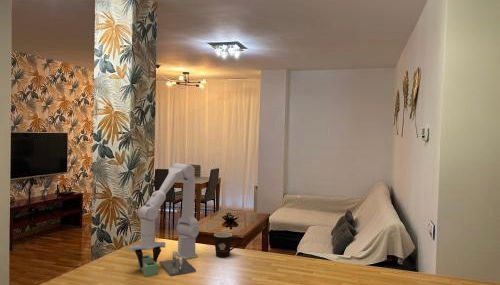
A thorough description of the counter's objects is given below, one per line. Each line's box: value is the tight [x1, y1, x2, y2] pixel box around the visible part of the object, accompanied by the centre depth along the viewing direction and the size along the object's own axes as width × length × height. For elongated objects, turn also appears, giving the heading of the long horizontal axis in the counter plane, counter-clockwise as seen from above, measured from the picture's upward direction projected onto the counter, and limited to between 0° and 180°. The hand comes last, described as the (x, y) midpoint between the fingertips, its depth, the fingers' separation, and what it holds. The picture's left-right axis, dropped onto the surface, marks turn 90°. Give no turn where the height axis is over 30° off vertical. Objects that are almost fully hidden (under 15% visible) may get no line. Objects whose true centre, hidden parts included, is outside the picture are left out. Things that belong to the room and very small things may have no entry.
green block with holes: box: [137, 254, 159, 277], centre depth 166 cm, size 14×5×4 cm, turn 28°
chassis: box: [159, 250, 197, 277], centre depth 169 cm, size 16×11×6 cm
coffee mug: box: [213, 231, 241, 259], centre depth 185 cm, size 12×9×10 cm
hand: (147, 266), depth 166 cm, fingers closed on green block with holes, 5 cm apart
